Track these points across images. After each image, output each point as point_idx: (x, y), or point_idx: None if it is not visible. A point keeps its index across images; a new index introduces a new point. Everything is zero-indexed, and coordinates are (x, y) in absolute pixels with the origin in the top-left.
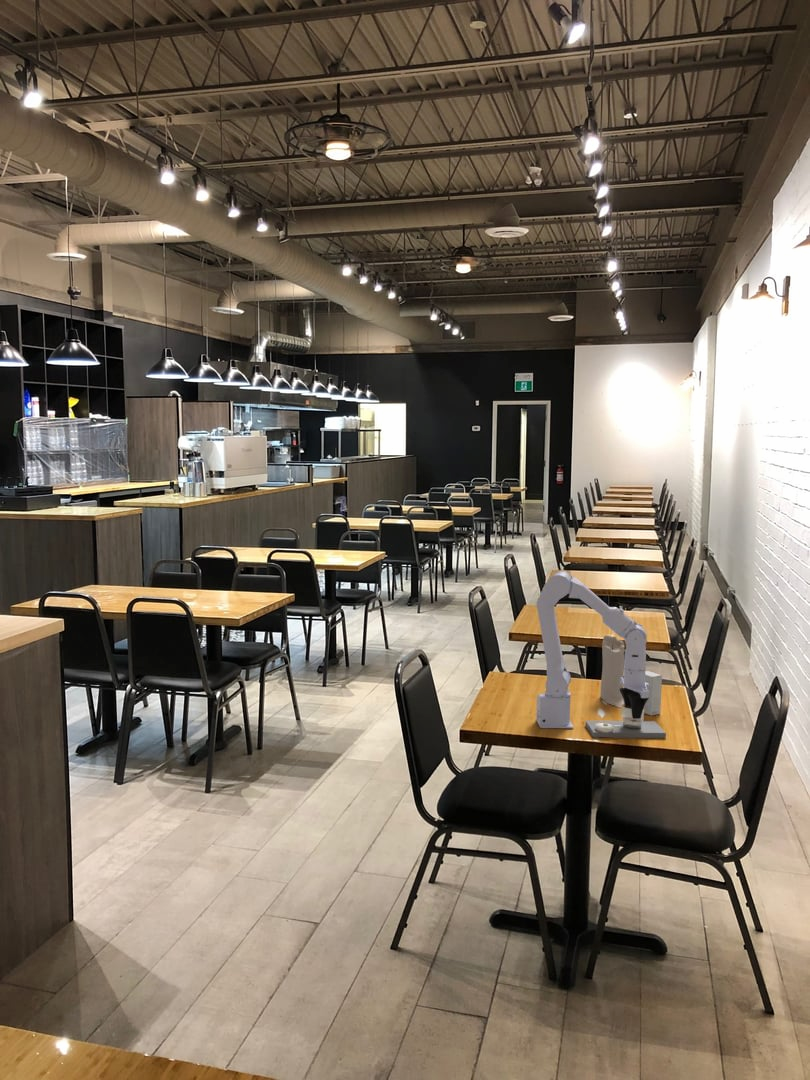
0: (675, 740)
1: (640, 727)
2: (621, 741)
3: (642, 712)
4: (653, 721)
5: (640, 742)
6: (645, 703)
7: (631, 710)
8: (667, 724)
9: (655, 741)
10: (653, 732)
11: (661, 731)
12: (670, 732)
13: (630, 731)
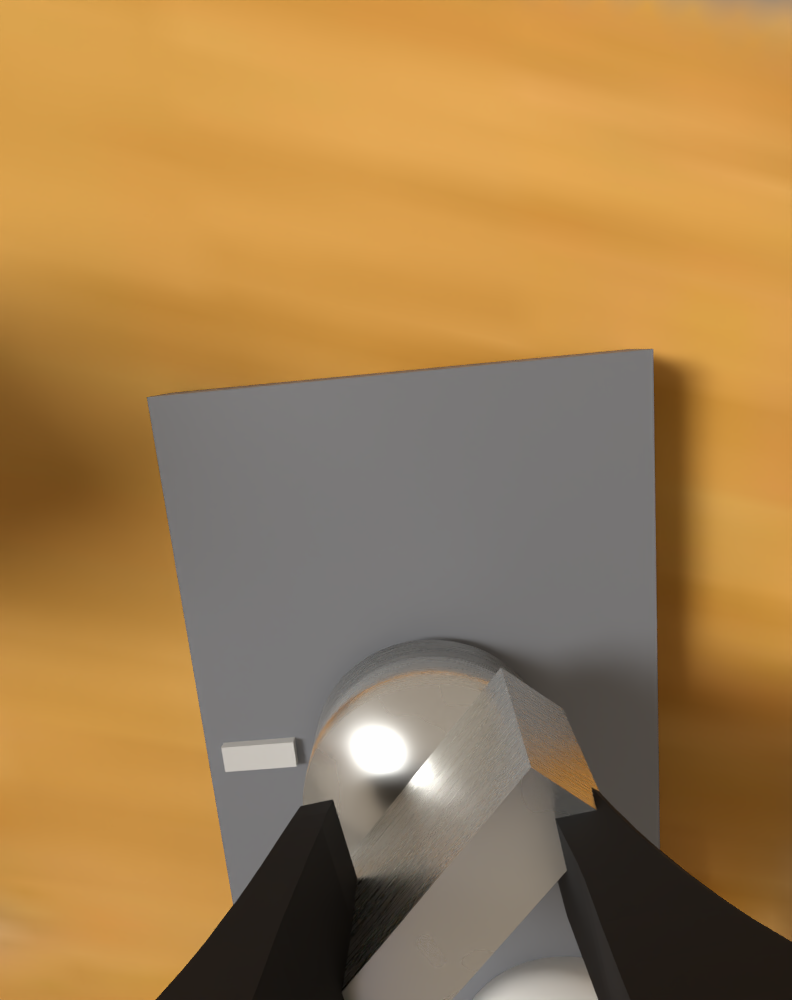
0: (703, 235)
1: (502, 661)
2: (746, 856)
3: (579, 782)
4: (166, 422)
5: (778, 674)
6: (748, 916)
7: (478, 943)
8: (55, 196)
9: (743, 500)
10: (642, 518)
11: (595, 400)
12: (389, 231)
13: (612, 786)
